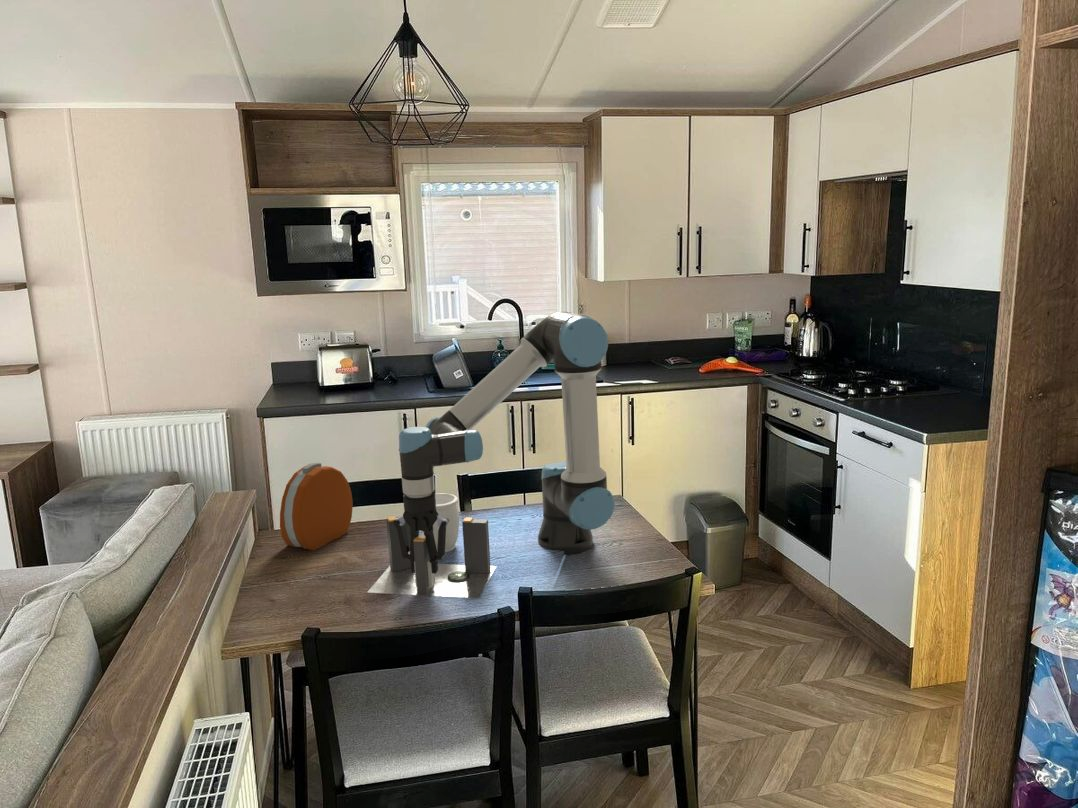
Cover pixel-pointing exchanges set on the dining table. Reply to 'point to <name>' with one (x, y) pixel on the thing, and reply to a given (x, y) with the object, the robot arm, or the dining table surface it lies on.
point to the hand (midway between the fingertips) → (425, 584)
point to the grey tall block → (397, 546)
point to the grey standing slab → (421, 564)
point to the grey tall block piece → (476, 545)
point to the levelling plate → (447, 582)
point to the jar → (448, 510)
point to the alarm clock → (315, 507)
